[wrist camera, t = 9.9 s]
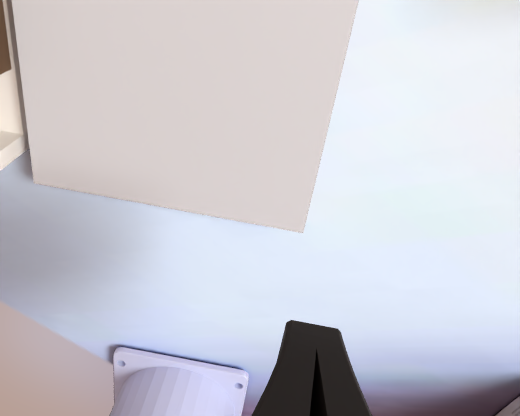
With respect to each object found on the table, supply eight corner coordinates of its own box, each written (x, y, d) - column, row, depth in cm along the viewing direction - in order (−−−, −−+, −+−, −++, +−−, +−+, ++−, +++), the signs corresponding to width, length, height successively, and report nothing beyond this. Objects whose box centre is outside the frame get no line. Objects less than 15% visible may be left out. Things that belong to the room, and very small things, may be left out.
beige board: (304, 214, 22) (303, 233, 21) (50, 168, 22) (33, 183, 21) (393, -165, 15) (399, -172, 13) (11, -230, 15) (-18, -243, 14)
